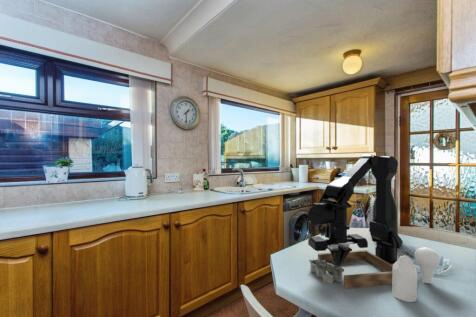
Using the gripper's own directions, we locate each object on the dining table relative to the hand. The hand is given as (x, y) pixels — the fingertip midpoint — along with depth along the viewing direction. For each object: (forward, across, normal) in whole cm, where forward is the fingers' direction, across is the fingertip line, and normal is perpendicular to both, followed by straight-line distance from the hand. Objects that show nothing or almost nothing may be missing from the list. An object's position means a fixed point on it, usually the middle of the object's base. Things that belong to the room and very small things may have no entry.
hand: (337, 267), depth 78 cm
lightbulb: (+2, -24, +10) cm, 26 cm away
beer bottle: (+2, -39, -24) cm, 46 cm away
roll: (+2, -11, +14) cm, 19 cm away
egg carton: (+3, +4, 0) cm, 5 cm away
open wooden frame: (+2, -7, 0) cm, 8 cm away
